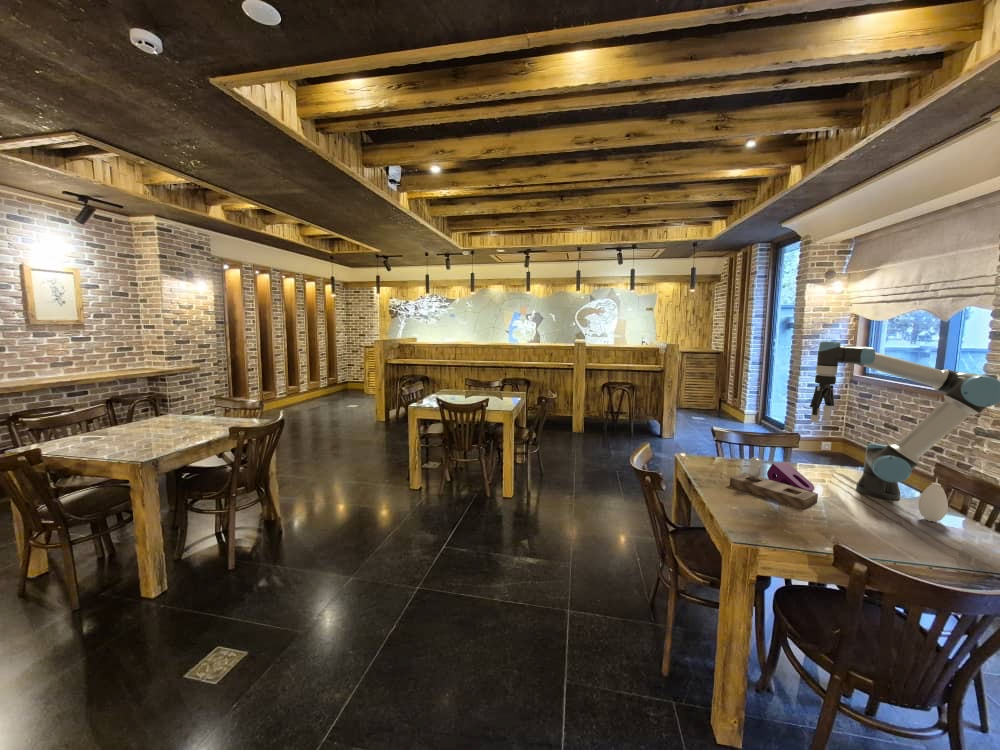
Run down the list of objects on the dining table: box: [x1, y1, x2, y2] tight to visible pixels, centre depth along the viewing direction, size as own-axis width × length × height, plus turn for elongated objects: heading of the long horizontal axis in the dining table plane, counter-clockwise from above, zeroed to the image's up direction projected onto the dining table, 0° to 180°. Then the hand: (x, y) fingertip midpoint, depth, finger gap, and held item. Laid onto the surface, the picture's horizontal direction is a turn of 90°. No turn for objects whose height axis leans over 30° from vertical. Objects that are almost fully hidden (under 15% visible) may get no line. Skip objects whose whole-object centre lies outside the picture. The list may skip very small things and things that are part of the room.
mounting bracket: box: [766, 461, 815, 492], centre depth 197 cm, size 10×8×18 cm
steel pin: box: [748, 457, 762, 482], centre depth 192 cm, size 4×4×14 cm
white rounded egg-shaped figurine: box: [918, 476, 949, 523], centre depth 162 cm, size 8×8×18 cm
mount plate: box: [729, 472, 819, 510], centre depth 186 cm, size 30×14×4 cm, turn 34°
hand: (820, 420), depth 191 cm, fingers open, 13 cm apart
